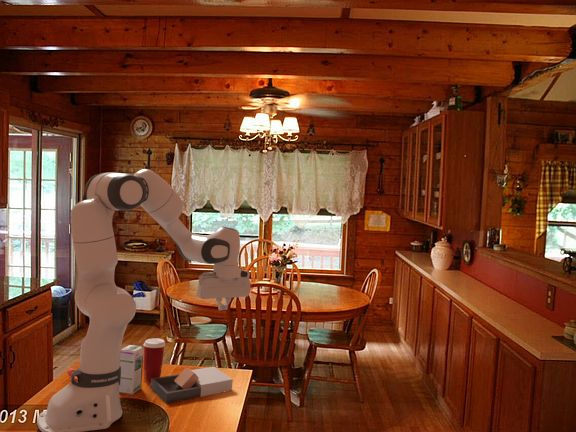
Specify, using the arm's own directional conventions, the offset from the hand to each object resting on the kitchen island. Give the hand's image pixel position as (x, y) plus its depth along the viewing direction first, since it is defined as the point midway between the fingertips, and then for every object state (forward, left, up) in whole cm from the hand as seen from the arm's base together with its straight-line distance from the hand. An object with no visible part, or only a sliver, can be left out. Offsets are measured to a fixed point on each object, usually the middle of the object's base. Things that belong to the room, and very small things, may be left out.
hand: (222, 309), depth 170 cm
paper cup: (-20, +12, -27) cm, 36 cm away
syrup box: (-30, +6, -27) cm, 41 cm away
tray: (-17, -2, -27) cm, 32 cm away
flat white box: (-5, -2, -27) cm, 27 cm away
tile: (-12, -2, -24) cm, 27 cm away
